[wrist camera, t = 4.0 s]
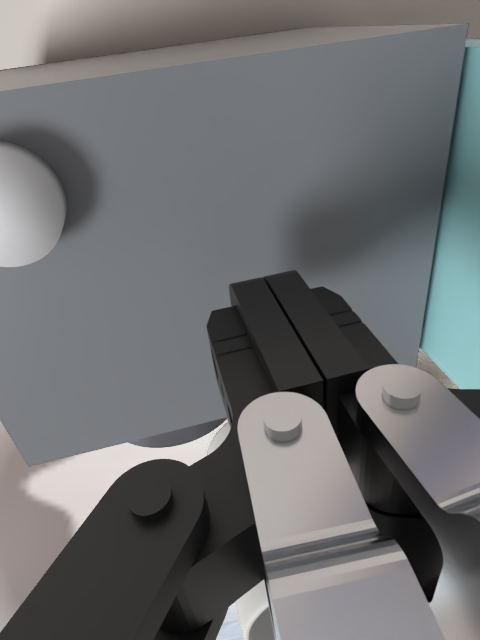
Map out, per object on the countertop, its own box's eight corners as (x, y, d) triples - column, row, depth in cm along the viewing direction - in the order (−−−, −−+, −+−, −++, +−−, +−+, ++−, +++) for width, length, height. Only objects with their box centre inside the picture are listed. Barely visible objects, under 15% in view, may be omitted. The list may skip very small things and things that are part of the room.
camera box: (313, 26, 18) (505, 21, 9) (317, 297, 25) (424, 441, 16) (-30, 74, 16) (-208, 124, 7) (80, 349, 23) (57, 541, 15)
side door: (369, 34, 18) (736, 37, 7) (359, 239, 23) (567, 417, 12) (323, 40, 18) (632, 54, 7) (323, 246, 23) (503, 435, 12)
